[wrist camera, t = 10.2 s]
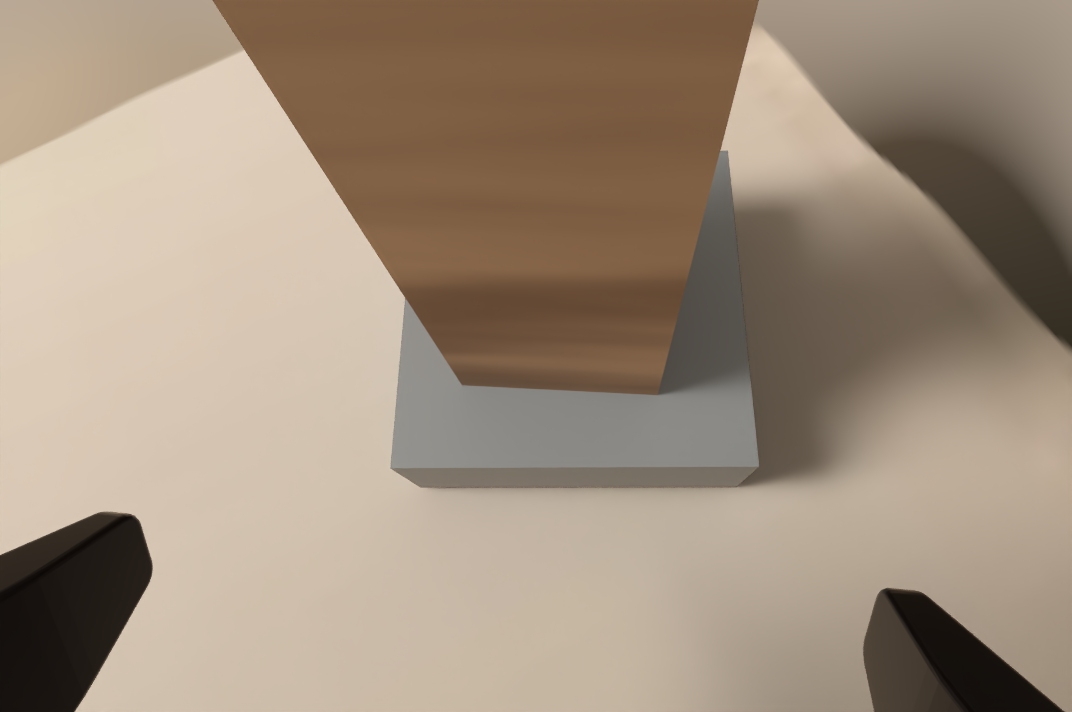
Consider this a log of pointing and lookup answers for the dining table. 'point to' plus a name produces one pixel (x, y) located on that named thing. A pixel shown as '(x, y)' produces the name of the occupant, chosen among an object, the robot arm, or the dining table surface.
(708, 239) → the slate plinth
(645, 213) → the walnut pillar
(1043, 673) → the dining table surface
